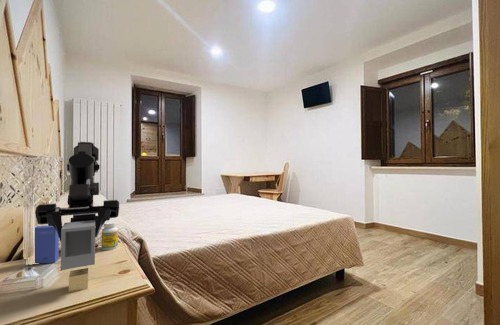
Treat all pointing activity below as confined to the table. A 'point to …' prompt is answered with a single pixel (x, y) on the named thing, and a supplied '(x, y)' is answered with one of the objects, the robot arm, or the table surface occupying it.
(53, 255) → the walkman
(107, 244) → the supplement bottle
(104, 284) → the table surface
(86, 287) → the brass cube
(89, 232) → the grey hollow block
